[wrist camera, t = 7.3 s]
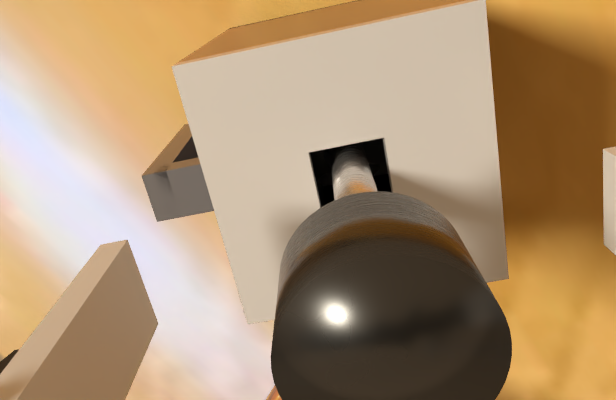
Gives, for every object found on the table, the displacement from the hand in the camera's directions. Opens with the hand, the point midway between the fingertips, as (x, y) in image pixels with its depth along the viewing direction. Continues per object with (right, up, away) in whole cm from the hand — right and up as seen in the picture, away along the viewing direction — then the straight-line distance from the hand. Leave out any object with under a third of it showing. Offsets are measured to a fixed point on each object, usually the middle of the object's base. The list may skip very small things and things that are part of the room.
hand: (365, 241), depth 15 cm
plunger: (0, +6, +14) cm, 15 cm away
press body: (-1, +7, +17) cm, 19 cm away
